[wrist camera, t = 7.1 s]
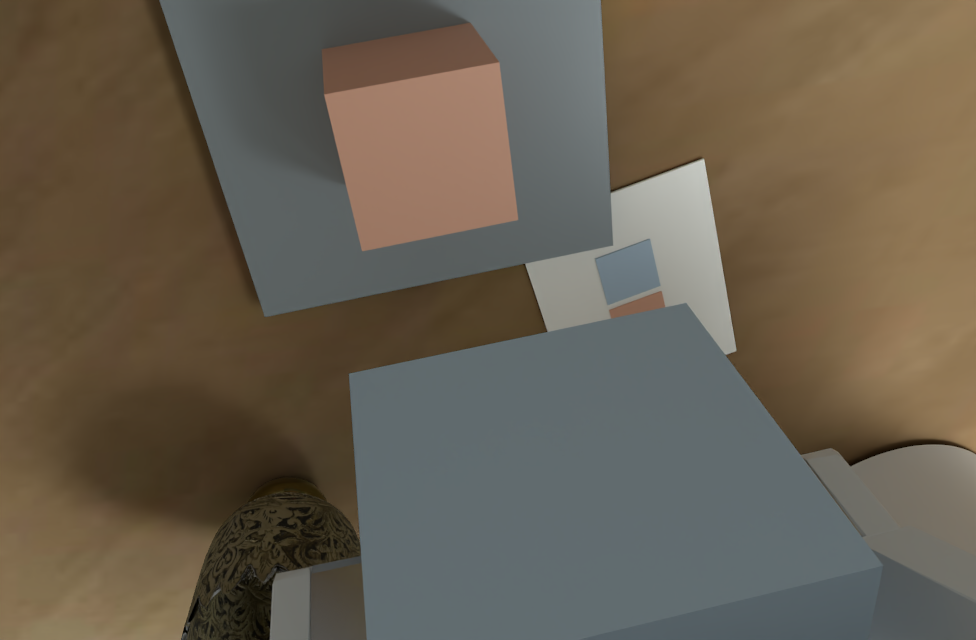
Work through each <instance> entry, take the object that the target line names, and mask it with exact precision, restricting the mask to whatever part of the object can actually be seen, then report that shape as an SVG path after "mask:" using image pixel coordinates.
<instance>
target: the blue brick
mask: <svg viewBox="0 0 976 640" xmlns="http://www.w3.org/2000/svg"><path fill="white" fill-rule="evenodd" d="M349 382H350V397H351V412H352V427H353V442H354V457H355V472H356V486H357V501H358V516H359V531H360V546H361V561H362V576H363V591H364V605H365V620H366V635H367V640H868V638H869V633H870V628H871V623H872V618H873V614H874V609H875V604H876V599H877V594H878V589H879V584H880V580H881V575H882V570H883V564H882V563H881V562H880V560H879V559H878V558H877V556H876V555H875V554H874V552H873V551H872V550H871V548H870V547H869V546H868V544H867V543H866V542H865V540H864V539H863V538H862V536H861V535H860V534H859V532H858V531H857V530H856V528H855V527H854V526H853V524H852V523H851V522H850V520H849V519H848V518H847V516H846V515H845V514H844V512H843V511H842V510H841V508H840V507H839V506H838V504H837V503H836V502H835V500H834V499H833V498H832V496H831V495H830V494H829V492H828V491H827V490H826V488H825V487H824V486H823V484H822V483H821V482H820V480H819V479H818V478H817V476H816V475H815V474H814V472H813V471H812V470H811V468H810V467H809V466H808V465H807V463H806V462H805V461H804V459H803V458H802V457H801V455H800V454H799V453H798V451H797V450H796V449H795V447H794V446H793V445H792V443H791V442H790V441H789V439H788V438H787V437H786V435H785V434H784V433H783V431H782V430H781V429H780V427H779V426H778V425H777V423H776V422H775V421H774V419H773V418H772V417H771V415H770V414H769V413H768V411H767V410H766V409H765V407H764V406H763V405H762V403H761V402H760V401H759V399H758V398H757V397H756V395H755V394H754V393H753V391H752V390H751V389H750V387H749V386H748V385H747V383H746V382H745V381H744V379H743V378H742V377H741V375H740V374H739V373H738V371H737V370H736V369H735V367H734V366H733V365H732V363H731V362H730V361H729V359H728V358H727V357H726V355H725V354H724V353H723V351H722V350H721V349H720V347H719V346H718V345H717V343H716V342H715V341H714V339H713V338H712V337H711V335H710V334H709V333H708V331H707V330H706V329H705V327H704V326H703V325H702V323H701V322H700V321H699V319H698V318H697V317H696V315H695V314H694V313H693V311H692V310H691V309H690V307H689V306H688V305H687V303H683V304H678V305H674V306H669V307H664V308H659V309H655V310H650V311H645V312H640V313H635V314H631V315H626V316H621V317H616V318H612V319H607V320H602V321H597V322H593V323H588V324H583V325H578V326H574V327H569V328H564V329H559V330H555V331H550V332H545V333H540V334H535V335H531V336H526V337H521V338H516V339H512V340H507V341H502V342H497V343H493V344H488V345H483V346H478V347H474V348H469V349H464V350H459V351H454V352H450V353H445V354H440V355H435V356H431V357H426V358H421V359H416V360H412V361H407V362H402V363H397V364H393V365H388V366H383V367H378V368H374V369H369V370H364V371H359V372H354V373H350V374H349Z"/></svg>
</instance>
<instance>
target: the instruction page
mask: <svg viewBox="0 0 976 640" xmlns="http://www.w3.org/2000/svg"><path fill="white" fill-rule="evenodd" d="M611 212H612V232H613V246H608V247H604V248H599V249H594V250H589V251H584V252H579V253H574V254H570V255H565V256H560V257H555V258H550V259H545V260H540V261H535V262H531V263H526V264H525V265H526V268H527V271H528V274H529V277H530V280H531V283H532V286H533V289H534V292H535V295H536V298H537V301H538V304H539V307H540V310H541V313H542V316H543V319H544V322H545V325H546V328H547V331H548V332H550V331H555V330H559V329H564V328H569V327H574V326H578V325H583V324H588V323H593V322H597V321H602V320H607V319H612V318H616V317H621V316H626V315H631V314H635V313H640V312H645V311H650V310H655V309H659V308H664V307H669V306H674V305H678V304H683V303H687V305H688V306H689V307H690V309H691V310H692V311H693V313H694V314H695V315H696V317H697V318H698V319H699V321H700V322H701V323H702V325H703V326H704V327H705V329H706V330H707V331H708V333H709V334H710V335H711V337H712V338H713V339H714V341H715V342H716V343H717V345H718V346H719V347H720V349H721V350H722V351H723V353H724V354H725V355H727V354H730V353H732V352H735V351H737V350H736V345H735V339H734V333H733V327H732V321H731V315H730V309H729V303H728V297H727V291H726V285H725V280H724V274H723V268H722V262H721V256H720V250H719V244H718V238H717V232H716V226H715V221H714V215H713V209H712V203H711V197H710V191H709V185H708V179H707V173H706V167H705V161H704V158H702V159H699V160H697V161H694V162H691V163H688V164H686V165H683V166H680V167H678V168H675V169H672V170H670V171H667V172H664V173H661V174H659V175H656V176H653V177H651V178H648V179H645V180H643V181H640V182H637V183H634V184H632V185H629V186H626V187H624V188H621V189H618V190H616V191H613V192H611Z"/></svg>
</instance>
